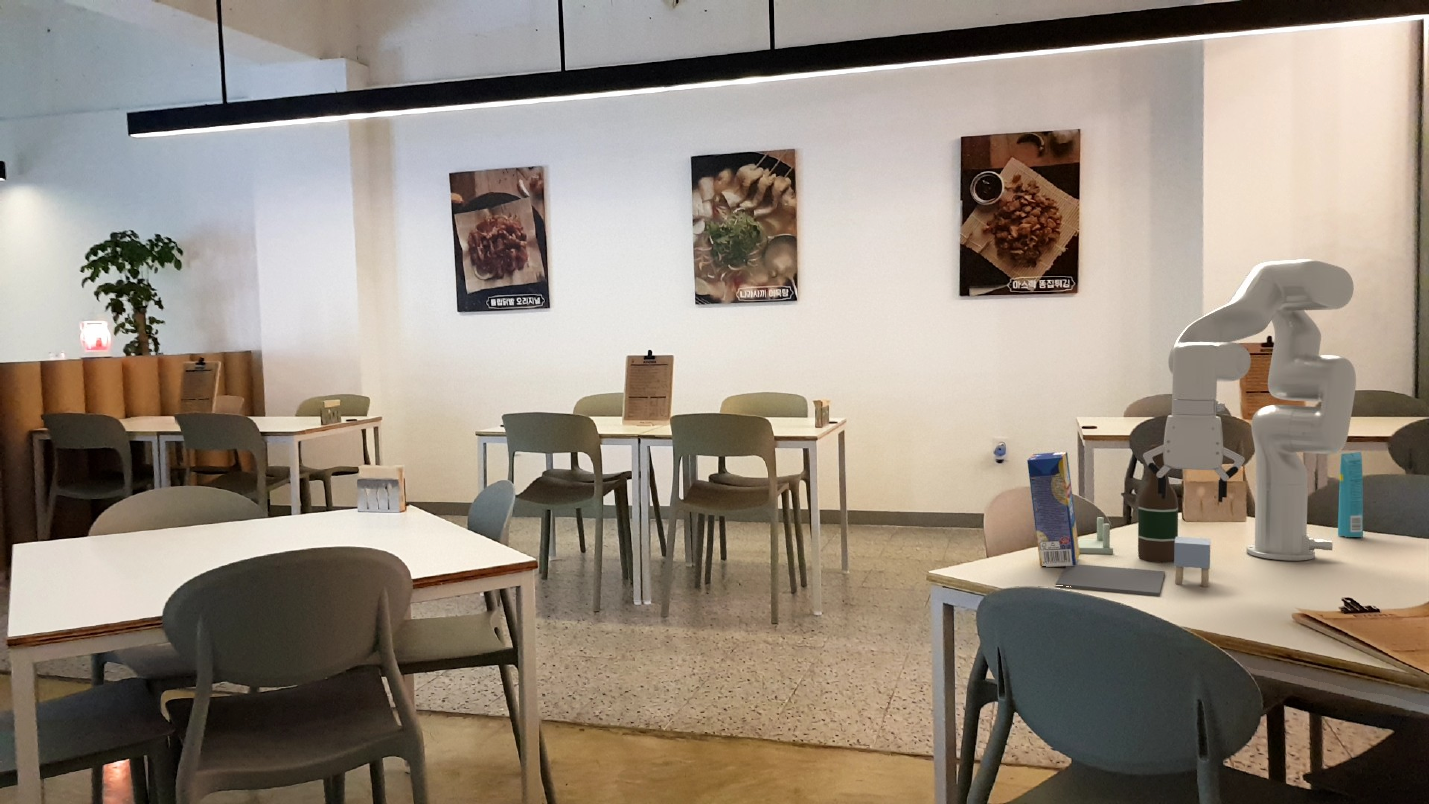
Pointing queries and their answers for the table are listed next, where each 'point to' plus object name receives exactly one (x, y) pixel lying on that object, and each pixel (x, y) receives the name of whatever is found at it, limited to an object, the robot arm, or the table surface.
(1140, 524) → the beer bottle
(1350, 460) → the teal carton
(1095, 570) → the charcoal mat
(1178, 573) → the slate-blue stool
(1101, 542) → the mint twin-peg base
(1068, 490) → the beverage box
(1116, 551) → the table surface
